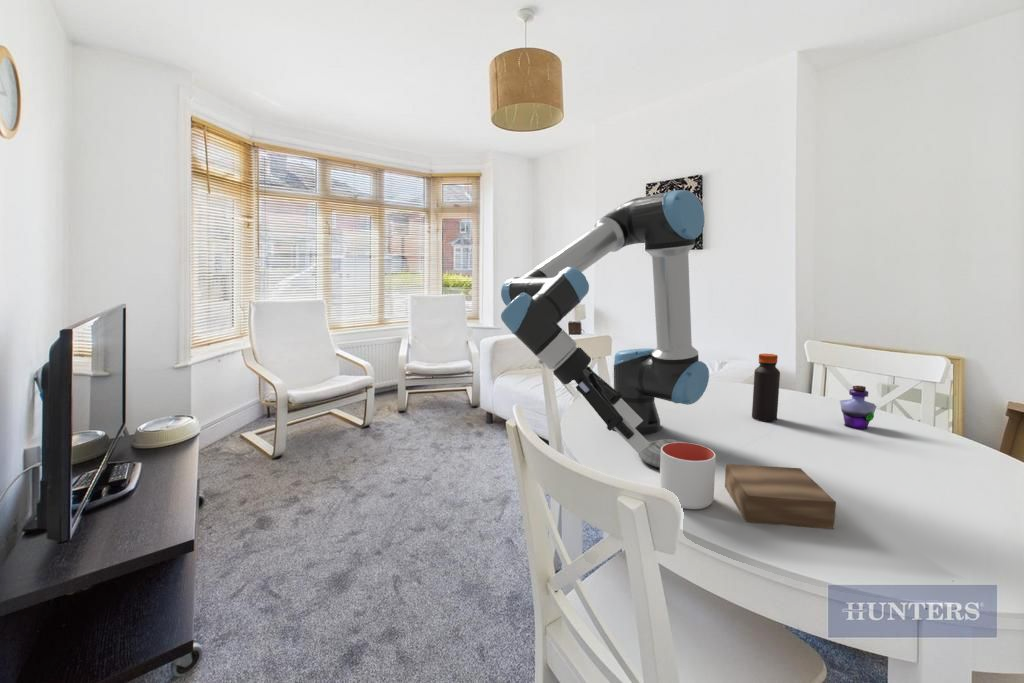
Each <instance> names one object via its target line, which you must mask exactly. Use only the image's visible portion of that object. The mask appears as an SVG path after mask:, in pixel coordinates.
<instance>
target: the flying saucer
mask: <svg viewBox="0 0 1024 683" xmlns="http://www.w3.org/2000/svg"><path fill="white" fill-rule="evenodd" d="M675 442H682V441H680V440H678V439H673V438H668V439H667V438H666V439H664V438H663V439H657V440H653V441H651V442H649V445H648V446H647V447H646V448H644V449H643V450H642V451H641V452H640V453H638V456H639V458H640V460H642V461H643V462H644V463H646V464H648V465H649V466H653V467H655V468H658V469H660V456H661V447H662V446H663V445H665V444H668V443H675ZM683 442H684V441H683ZM684 443H686V442H684Z"/></svg>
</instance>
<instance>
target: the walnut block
mask: <svg viewBox="0 0 1024 683" xmlns="http://www.w3.org/2000/svg"><path fill="white" fill-rule="evenodd" d="M724 478H725V480H724V488H725V489H726V491H727V492H728V495H729V496H730V498H731V500H732V501H733V503H734V504H735V505H736V508H737V509H738V511H739V513H740V515H741V516H742V518H743V519H744V520H745V523H752V524H754V523H756V524H765V525H767V524H768V525H779V526H780V525H781V526H790V527H791V526H792V527H793V526H794V527H804V528H814V529H817V528H818V529H827V530H828V529H829V530H834V529H835V521H836V520H835V517H836V509H837V502H836V500H835V499H833V497H832V496H831V495H829V493H827V492H826V491H825V490H824V489H823V488H822V487H821V486H820V485H819V484H818V483H816V481H815V480H813V478H812V477H811V476H809V475H808V473H806V472H805V471H804V470H803V469H802V468H801V467H788V466H787V467H786V466H770V465H769V466H767V465H752V464H735V463H726V464H725V477H724Z"/></svg>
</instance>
